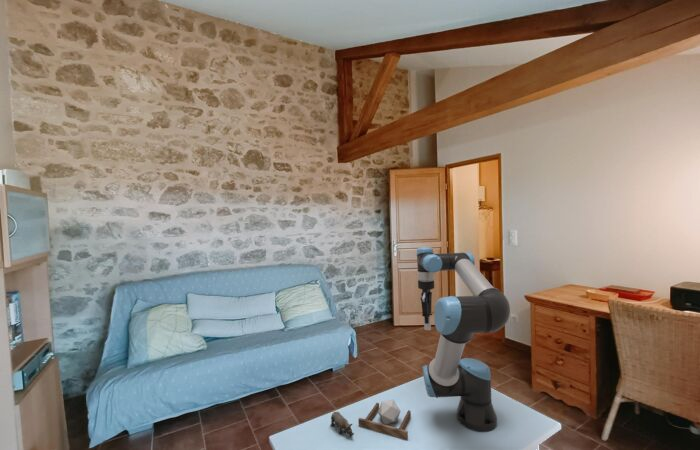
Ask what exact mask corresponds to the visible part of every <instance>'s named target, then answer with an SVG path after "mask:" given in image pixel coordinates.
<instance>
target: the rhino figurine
mask: <svg viewBox="0 0 700 450" xmlns="http://www.w3.org/2000/svg"><path fill="white" fill-rule="evenodd" d="M330 423H331V424H330V426H331V427H335V426H336V427H337V428H338V435H342V434H343V432H344V433H345V434H347V435H348V436H349V437H350V438H351V437H353V436H354V435H355V433H354V432H353V430H352V425H353V423H349V422H348V419H347V418H345V417H344V416H343V415H342V414H341V413H340V412H339V411H334V412H333V413H332V414H331V416H330ZM342 430H343V432H342Z"/></svg>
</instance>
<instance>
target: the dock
mask: <svg viewBox="0 0 700 450" xmlns="http://www.w3.org/2000/svg"><path fill="white" fill-rule="evenodd" d="M379 408H380V403H379V402H376V403H375V405H374V406H373V408H372V409H371V410H370V411H369V413H368V415H367V416H366V417H365V418H362V417H358V427H359V428H363V429H366V430H370V431H373V432H376V433H381V434H383V435H387V436H391V437H394V438H398V439H400V440H403V441H404V440H405V441H408V440H409V432H408V430H406V429H407V427H408V425H409V422H410V420H411V419H412V416H411V415H412V414H411V410H409V409H408V410H407V412H406V413H405V416H404V417H403V419H402V421H401V424H400V425H399V426H398V427H396V426H395V427H394V426H392V425H391V426H390V425H388V424H384V423H379V422H377V421H374V419H375V417H376V416H377V414H378V410H379Z"/></svg>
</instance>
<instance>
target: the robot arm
mask: <svg viewBox="0 0 700 450" xmlns="http://www.w3.org/2000/svg"><path fill="white" fill-rule="evenodd" d="M475 261H476V260H475V257H474V254H472V253H471V252H463V251H462V252H452V253H451V252H450V253H434V249H433V247H432V246H431V247H429V246H424V247H423V246H422V247H418V248H417V249H416V263H417V272H416V275H417V287H418V289H420V290H421V291H422V292H421V295H420V302H421V310H422V311H421V313H422V314H421V316H422V317H423V325H424V328H423V329H424V331H431V330H432V323H431V322H432V321H431V316H433V315H434V316H433V318H434V319H433V320H434V326H435V328H436V331H437V332H438V333H440V336H439V340H438V344H437V349H436V353H435V356H434V358H433V359H432V360H431V361H430V362H429V365H428V364H426V365H423V366H422V375H423V381H424V386H425V391H426V394H427V396H428V397H429V398H436V399H438V398H450V397H451V398H452V397H460V399H459V402H458V405H457V408H456V419H457V421H458V422H459V423H460V424H461V425H462V426H463V427H465V428H466V429H469V430H472V431H476V432H490V431H492V430H495V428H497V425H498V418H497V414H496V410H495V409H494V405H493V403H492V375H491V369H490V367H489V366H488V365H487V364H486V363H485V362H483V361H481V360H479V359H475V358H469V357H465V358H462V357H463V356H462V355H463V354H464V353H463V352H464V349H465V346H466V344H468V343H470V342H471V340H472V339H473V337H474V336H475V335H474V334H484V333H486V334H487V333H495V332H498V331H500V330H501V329H502V328H504V327H505V326H506V324H507V323H508V321H509V319H510V315H511V306H510V302H509V300H508V298H507V296H506V295H505V294H504V293H503V291H501V290H500V289H498V288H496V287H494V286H493V285H492V284H491V283H490V281H488V279H487V278H486V277H485V276H484V275H483V274H482V273H481V271H480V270H479V269H478V268H477V267H476V266H475V264H476V263H475ZM439 271H440V272H441V271H442V272H443V271H455V272H456V274H457V275H458V276H459V278H460V279H461V280H462V282H463V283H464V285H465V286H466V288H467V289H468V290H469V292H470V294H471V295H461V296H460V295H459V296H454V295H449V296H445V297H444V296H443V297H440V298H438V300H437V301H436V302H435V305H434V314H433V313H432V296H433V292H432V290H433V289H435V281H434V280H435V273H437V272H439Z"/></svg>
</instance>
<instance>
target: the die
mask: <svg viewBox="0 0 700 450" xmlns="http://www.w3.org/2000/svg"><path fill="white" fill-rule="evenodd" d="M400 413H401V409H400V408H399V406H398V405H397V403H396V402H395V400H394V399H388V400H383V401H381V402H380V404H379V410H378V413H377V414H378V416H379V417H380V419H381V421H382V422H383V424H384V425H388V424H389V425H390V424H392V423H393V424H394V423H397V422H398V420H399V417H400Z"/></svg>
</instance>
